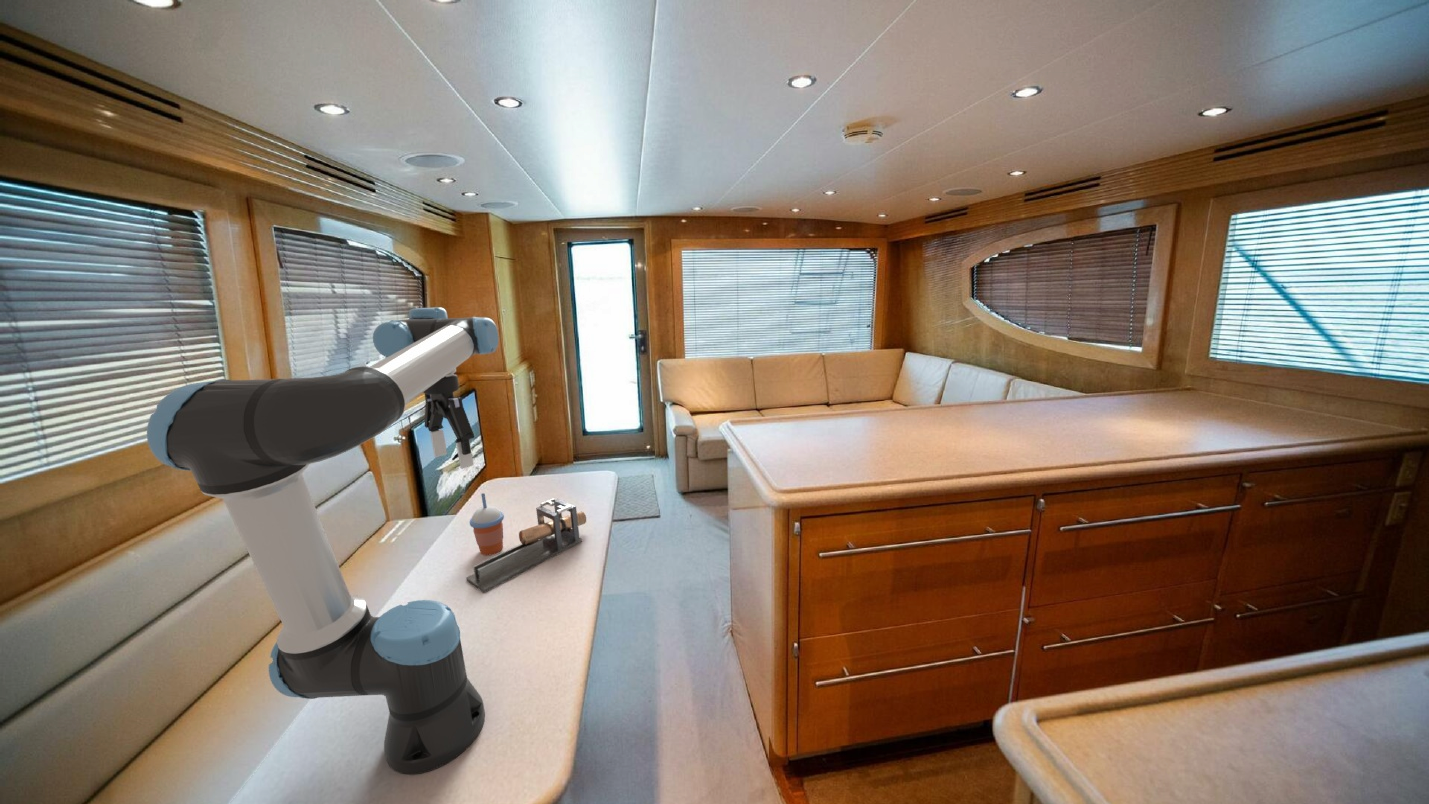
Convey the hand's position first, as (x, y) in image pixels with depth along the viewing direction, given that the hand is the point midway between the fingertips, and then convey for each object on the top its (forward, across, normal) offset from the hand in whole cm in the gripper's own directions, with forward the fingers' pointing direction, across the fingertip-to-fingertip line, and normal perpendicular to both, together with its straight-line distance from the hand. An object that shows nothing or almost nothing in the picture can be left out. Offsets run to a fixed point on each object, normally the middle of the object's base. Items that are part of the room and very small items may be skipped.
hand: (453, 461), depth 118 cm
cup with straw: (+35, +14, -12) cm, 39 cm away
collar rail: (+35, 0, -15) cm, 38 cm away
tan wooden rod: (+29, 0, -24) cm, 38 cm away
